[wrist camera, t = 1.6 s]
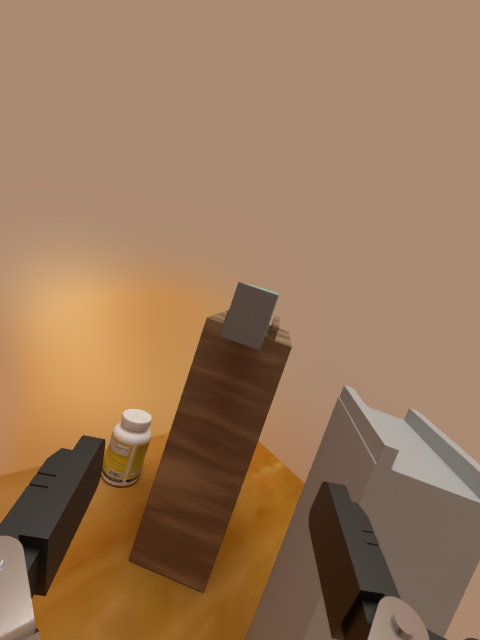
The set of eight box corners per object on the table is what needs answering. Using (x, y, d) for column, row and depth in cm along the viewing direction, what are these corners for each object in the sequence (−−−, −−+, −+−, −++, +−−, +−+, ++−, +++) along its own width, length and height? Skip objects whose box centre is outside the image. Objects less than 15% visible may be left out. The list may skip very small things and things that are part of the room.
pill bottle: (135, 463, 60) (152, 408, 58) (141, 487, 54) (160, 426, 53) (98, 463, 57) (116, 404, 55) (101, 488, 51) (121, 424, 50)
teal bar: (259, 350, 29) (278, 295, 28) (220, 336, 29) (238, 282, 29) (269, 323, 53) (279, 294, 52) (247, 316, 53) (257, 286, 52)
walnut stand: (203, 593, 40) (296, 333, 36) (128, 560, 41) (211, 304, 37) (223, 516, 54) (292, 322, 50) (166, 493, 55) (230, 300, 51)
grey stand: (312, 917, 21) (511, 491, 18) (210, 866, 22) (383, 444, 18) (301, 694, 33) (419, 411, 30) (235, 665, 34) (343, 384, 30)
